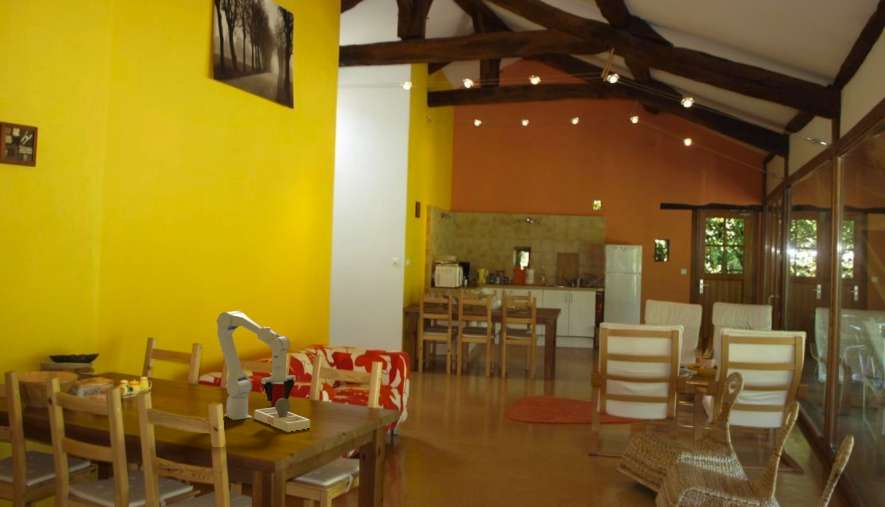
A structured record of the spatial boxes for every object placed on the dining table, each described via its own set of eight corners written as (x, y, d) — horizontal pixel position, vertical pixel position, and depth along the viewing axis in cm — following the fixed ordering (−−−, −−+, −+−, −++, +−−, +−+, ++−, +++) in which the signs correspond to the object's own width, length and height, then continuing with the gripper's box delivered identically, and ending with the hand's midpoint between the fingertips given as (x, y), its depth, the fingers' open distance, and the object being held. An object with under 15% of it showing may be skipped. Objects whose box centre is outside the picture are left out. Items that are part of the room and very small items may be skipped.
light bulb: (278, 425, 290) (279, 400, 290) (272, 422, 295) (272, 397, 295) (292, 423, 294) (293, 398, 294) (285, 420, 299) (286, 396, 299)
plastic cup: (276, 409, 319) (277, 382, 319) (260, 405, 326) (261, 379, 325) (295, 405, 328) (296, 379, 328) (279, 402, 334) (280, 376, 334)
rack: (253, 418, 302) (253, 410, 302) (275, 415, 308) (275, 407, 308) (287, 432, 281) (287, 423, 281) (309, 428, 288) (309, 419, 288)
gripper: (267, 369, 289) (266, 403, 289) (300, 366, 299) (298, 399, 299) (259, 366, 294) (258, 400, 295) (291, 363, 304) (290, 396, 304)
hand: (278, 399), depth 297 cm, fingers open, 7 cm apart
